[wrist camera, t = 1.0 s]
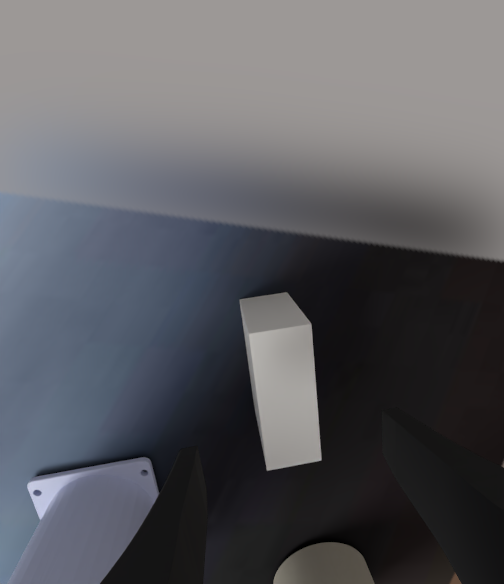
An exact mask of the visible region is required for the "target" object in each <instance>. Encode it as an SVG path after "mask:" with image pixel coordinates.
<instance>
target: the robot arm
mask: <svg viewBox="0 0 504 584" xmlns="http://www.w3.org/2000/svg"><path fill="white" fill-rule="evenodd" d="M382 446H383V455H384V457H385V459H386V461H387V463H388V465H389V467H390V469H391V471H392V473H393V475H394V476H395V478H396V480H397V482H398V483H399V485H400V486H401V488H402V489H403V491H404V492H405V494H406V495H407V497H408V498H409V500H410V501H411V503H412V504H413V506H414V507H415V509H416V510H417V512H418V513H419V515H420V516H421V518H422V519H423V520H424V522H425V523H426V525H427V526H428V528H429V529H430V531H431V532H432V534H433V535H434V537H435V538H436V540H437V542H438V543H439V545H440V546H441V548H442V550H443V551H444V553H445V555H446V556H447V558H448V560H449V562H450V564H451V565H452V567H453V569H454V571H455V572H456V574H457V576H458V578H459V580H460V581H461V583H462V584H504V468H503V467H501V466H499V465H497V464H495V463H492V462H490V461H488V460H486V459H484V458H482V457H480V456H478V455H476V454H475V453H473V452H471V451H469V450H467V449H465V448H463V447H461V446H460V445H458V444H456V443H454V442H453V441H451V440H449V439H447V438H446V437H444V436H442V435H441V434H439V433H437V432H436V431H434V430H432V429H431V428H429V427H427V426H426V425H424V424H423V423H421V422H419V421H418V420H416V419H415V418H413V417H411V416H410V415H408V414H406V413H405V412H403V411H402V410H400V409H398V408H393V409H387V410H382ZM142 470H147V472H144V471H142ZM27 487H28V490H29V493H30V495H31V498H32V500H33V503H34V505H35V508H36V510H37V513H38V515H39V518H40V520H41V521H40V522H39V524H38V526H37V528H36V530H35V532H34V534H33V536H32V538H31V540H30V542H29V543H28V545H27V547H26V549H25V551H24V553H23V555H22V557H21V559H20V561H19V562H18V564H17V566H16V568H15V570H14V572H13V574H12V576H11V578H10V580H9V582H8V583H7V584H203V576H204V562H205V549H206V534H207V519H208V517H207V488H206V484H205V479H204V474H203V470H202V465H201V460H200V456H199V451H198V447H197V446H194V447H189V448H184V449H181V450H180V451H179V452H178V455H177V457H176V460H175V462H174V464H173V467H172V469H171V471H170V473H169V475H168V477H167V479H166V481H165V483H164V485H163V487H162V489H161V491H160V493H159V490H158V486H157V483H156V479H155V475H154V471H153V467H152V463H151V461H150V459H149V458H146V457H141V458H136V459H130V460H125V461H119V462H114V463H108V464H103V465H97V466H92V467H86V468H81V469H75V470H70V471H64V472H59V473H53V474H48V475H42V476H37V477H33V478H32V479H31V480H30V481H29V483H28V485H27ZM38 490H40V491H38Z"/></svg>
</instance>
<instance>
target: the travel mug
mask: <svg viewBox="0 0 504 584" xmlns="http://www.w3.org/2000/svg"><path fill="white" fill-rule="evenodd" d="M273 584H375V583H374V581H373V578H372V576H371V574H370V571H369V569H368V567H367V564H366V562H365V559H364V558H363V556H362V555H361V553H360V552H359V551H357V550H356V549H355V548H353V547H351V546H349V545H346V544H342V543H336V542H325V543H318V544H314V545H311V546H308V547H305V548H303V549H301V550H299V551H297V552H295V553H294V554H292V555H291V556H290V557H289V558H287V559H286V560H285V561H284V562H283V563H282V565H281V566H280V567H279V569H278V571H277V573H276V575H275V578H274V583H273Z"/></svg>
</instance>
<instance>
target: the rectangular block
mask: <svg viewBox="0 0 504 584" xmlns="http://www.w3.org/2000/svg"><path fill="white" fill-rule="evenodd" d="M240 307H241V314H242V321H243V329H244V336H245V343H246V350H247V358H248V365H249V372H250V379H251V387H252V394H253V401H254V409H255V414H256V419H257V424H258V429H259V434H260V439H261V444H262V448H263V453H264V458H265V463H266V468H267V471H269V470H274V469H279V468H284V467H290V466H295V465H300V464H305V463H311V462H316V461H321V447H320V433H319V419H318V406H317V392H316V378H315V365H314V351H313V338H312V324H311V323H310V321H309V320H308V319H307V318H306V316H305V315H304V314H303V312H302V311H301V310H300V308H299V307H298V306H297V305H296V303H295V302H294V301H293V299H292V298H291V297H290V296H289V294H288V293H287V292H285V293H279V294H272V295H265V296H259V297H252V298H245V299H240Z"/></svg>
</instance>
